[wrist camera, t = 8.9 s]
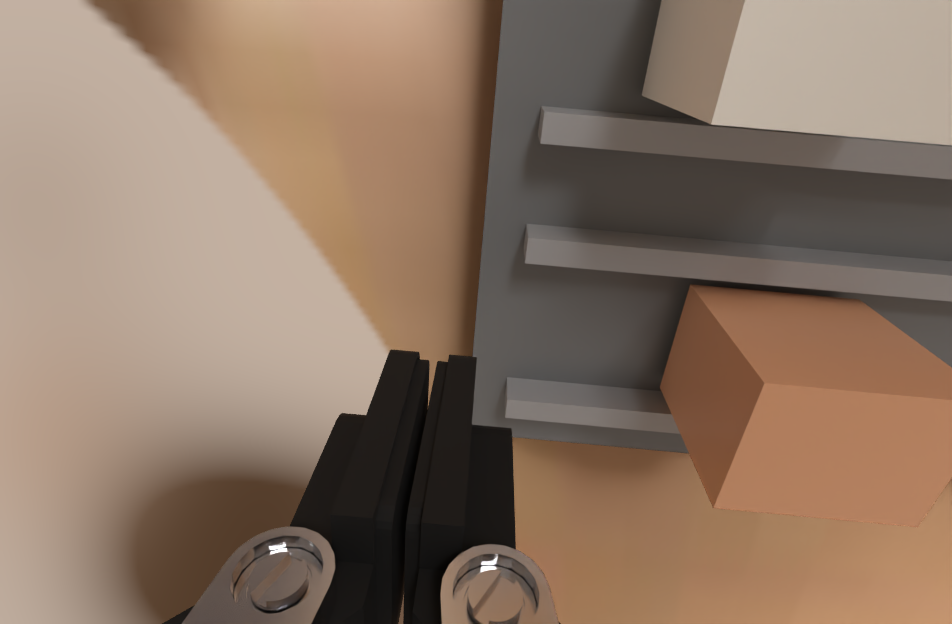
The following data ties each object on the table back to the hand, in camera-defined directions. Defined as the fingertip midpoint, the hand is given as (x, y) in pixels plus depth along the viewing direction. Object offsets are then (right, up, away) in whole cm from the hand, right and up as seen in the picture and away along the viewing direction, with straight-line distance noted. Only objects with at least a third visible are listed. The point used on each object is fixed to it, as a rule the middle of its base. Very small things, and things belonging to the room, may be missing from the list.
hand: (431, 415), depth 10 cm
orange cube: (+8, +1, +3) cm, 8 cm away
